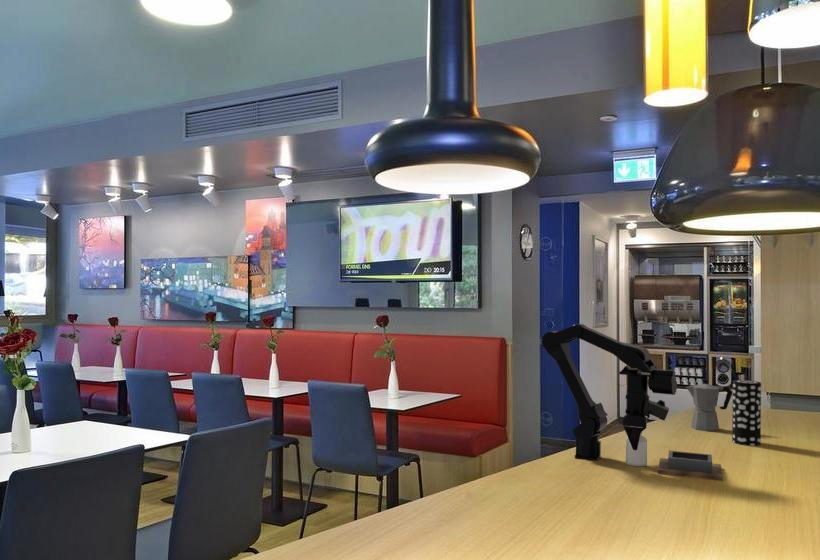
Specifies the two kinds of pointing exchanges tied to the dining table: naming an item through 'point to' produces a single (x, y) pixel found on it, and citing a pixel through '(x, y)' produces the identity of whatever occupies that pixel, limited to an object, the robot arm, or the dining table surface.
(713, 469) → the socket board
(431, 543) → the dining table surface
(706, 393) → the coffeepot
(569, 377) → the robot arm
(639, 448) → the eye dropper bottle
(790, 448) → the dining table surface
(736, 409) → the white-spotted black cylinder
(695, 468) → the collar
